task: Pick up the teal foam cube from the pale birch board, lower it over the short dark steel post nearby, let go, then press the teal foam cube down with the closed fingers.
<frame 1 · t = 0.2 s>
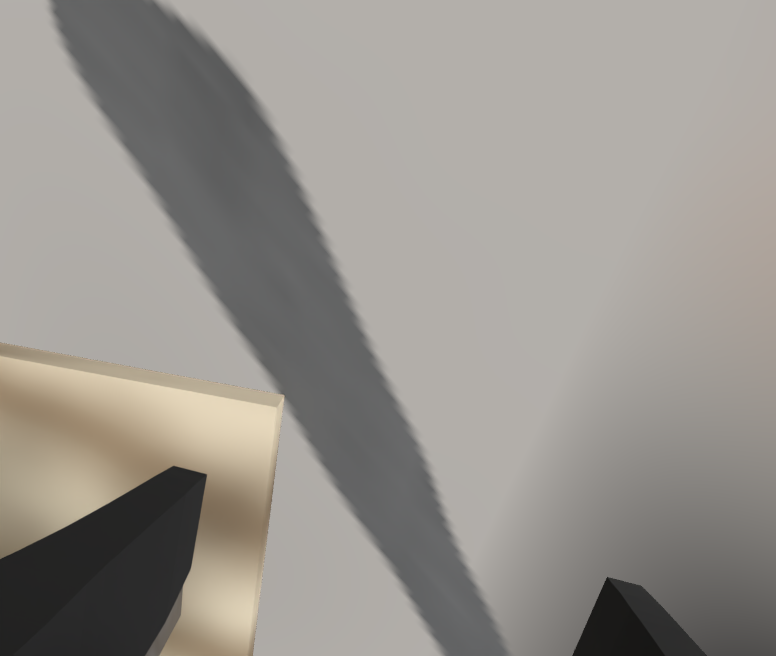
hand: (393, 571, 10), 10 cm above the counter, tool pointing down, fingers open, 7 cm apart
board: (84, 589, 24), on the counter
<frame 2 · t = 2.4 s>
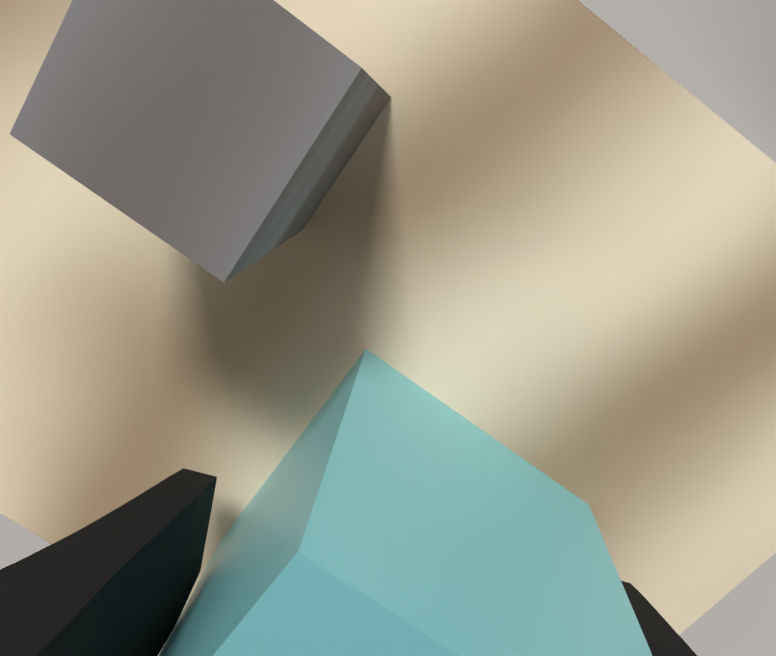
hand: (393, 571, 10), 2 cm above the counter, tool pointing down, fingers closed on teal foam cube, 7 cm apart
teal foam cube: (398, 522, 12), point 1 cm above the counter, touching board, gripper
board: (295, 314, 12), on the counter
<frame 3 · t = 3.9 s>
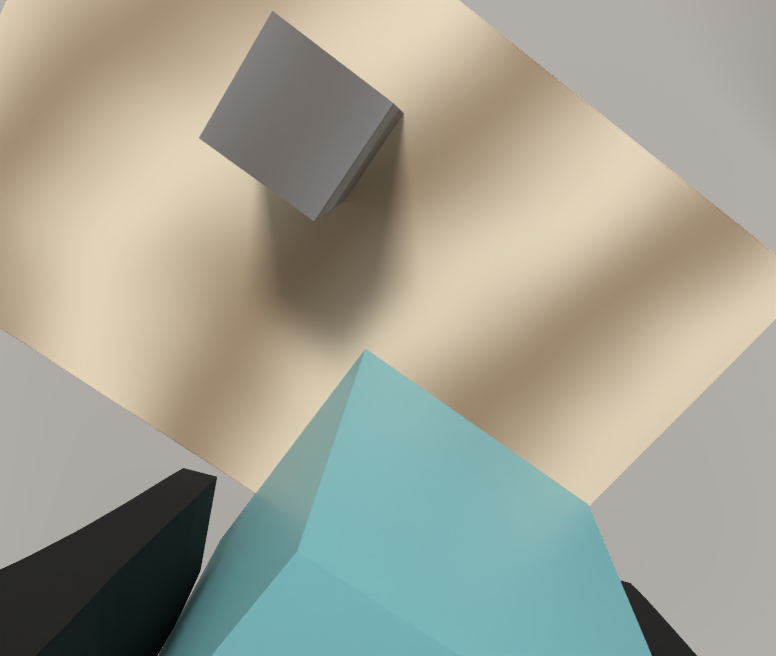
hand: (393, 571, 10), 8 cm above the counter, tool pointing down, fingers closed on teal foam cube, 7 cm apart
teal foam cube: (397, 522, 12), point 6 cm above the counter, touching gripper
board: (335, 263, 17), on the counter
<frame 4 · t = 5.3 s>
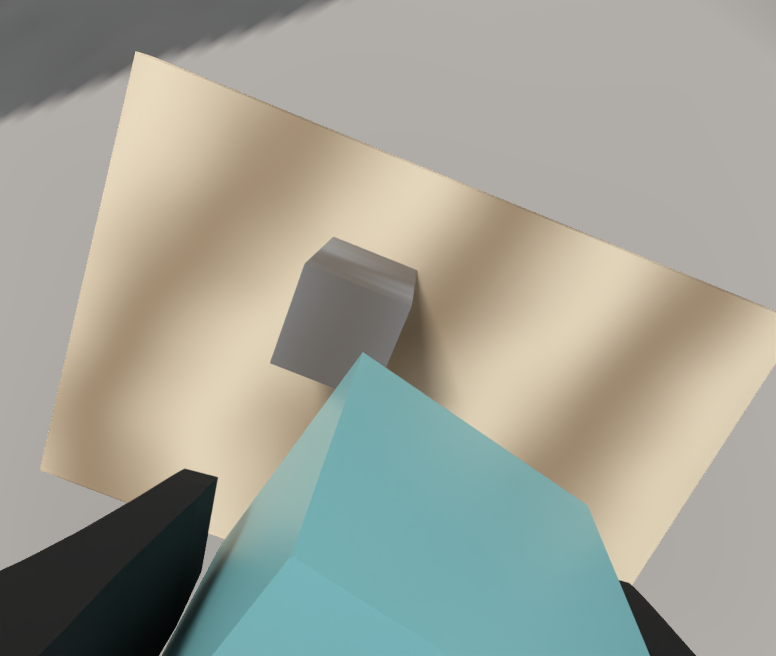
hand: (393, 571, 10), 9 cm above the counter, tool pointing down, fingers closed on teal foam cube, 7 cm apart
teal foam cube: (397, 525, 12), point 8 cm above the counter, touching gripper
board: (388, 390, 20), on the counter
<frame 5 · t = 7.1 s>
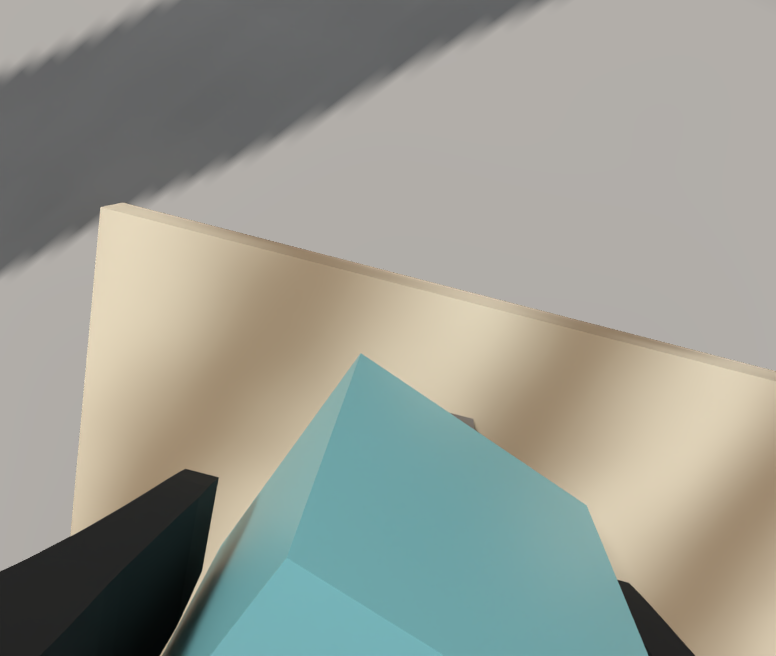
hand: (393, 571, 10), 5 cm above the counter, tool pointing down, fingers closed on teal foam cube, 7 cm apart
teal foam cube: (396, 526, 12), point 4 cm above the counter, touching gripper
board: (451, 546, 16), on the counter
when the fingers open (3 cm above the counter, at t = 8.5 s): teal foam cube stays where it is, resting on board.
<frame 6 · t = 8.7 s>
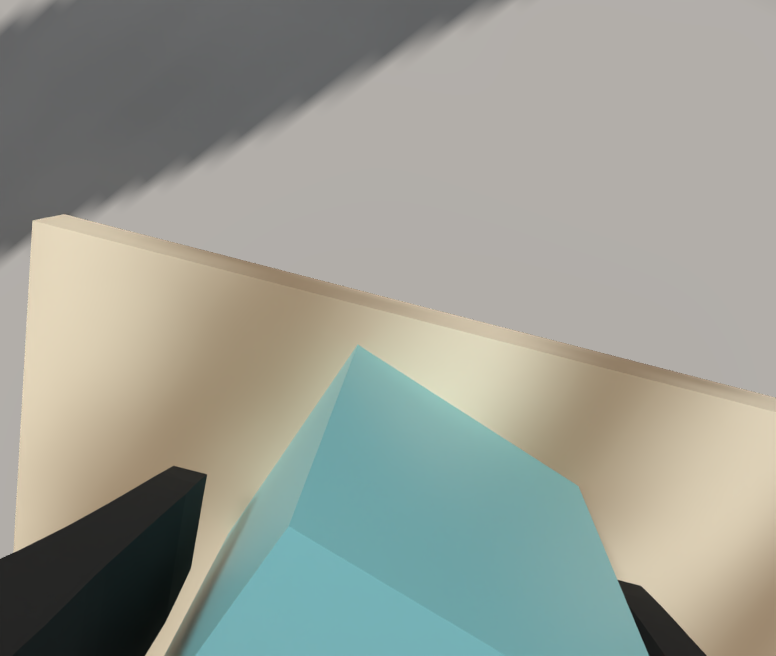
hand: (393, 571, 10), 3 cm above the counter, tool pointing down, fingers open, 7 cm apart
teal foam cube: (396, 510, 12), point 1 cm above the counter, touching board
board: (452, 609, 14), on the counter
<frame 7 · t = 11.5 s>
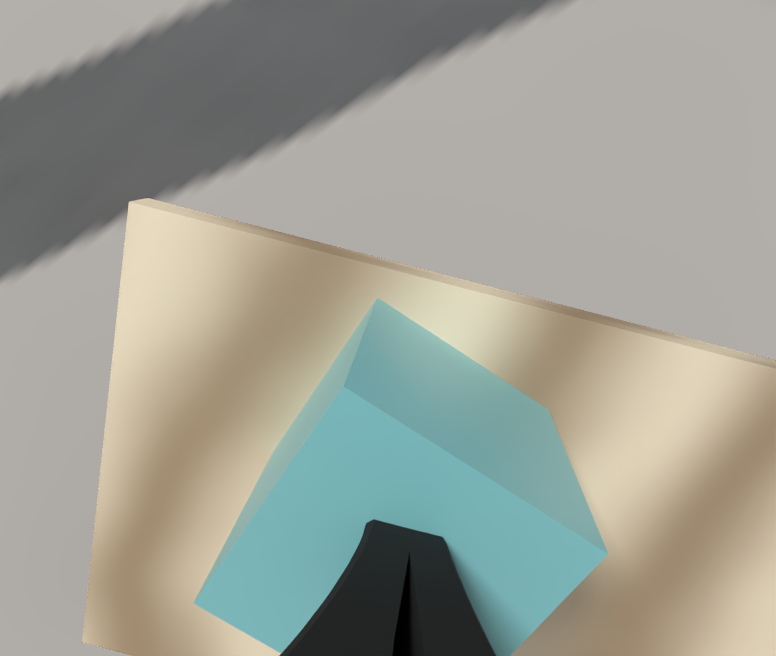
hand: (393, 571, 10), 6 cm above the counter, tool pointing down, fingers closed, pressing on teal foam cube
teal foam cube: (406, 430, 16), point 1 cm above the counter, touching board, gripper
board: (450, 519, 18), on the counter
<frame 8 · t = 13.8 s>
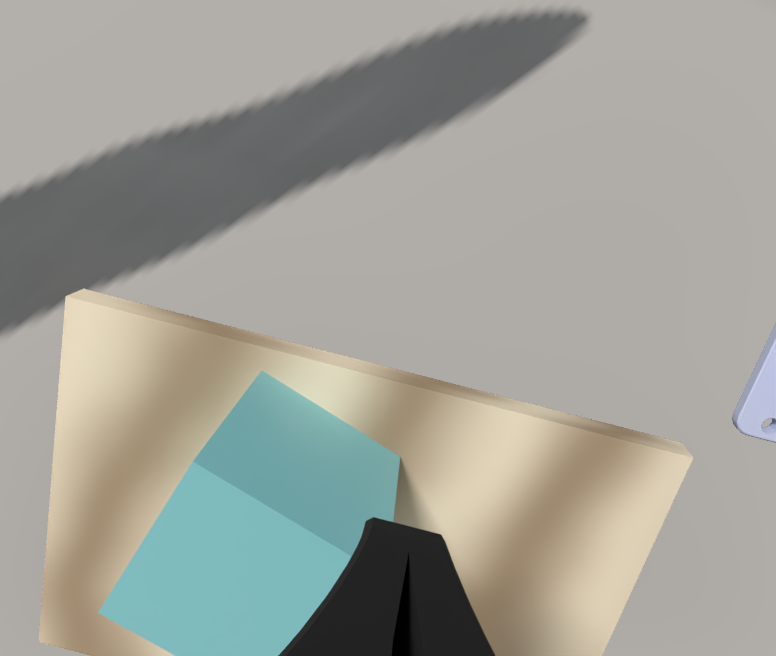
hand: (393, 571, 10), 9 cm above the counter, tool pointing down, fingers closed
teal foam cube: (291, 472, 20), point 1 cm above the counter, touching board
board: (336, 541, 22), on the counter
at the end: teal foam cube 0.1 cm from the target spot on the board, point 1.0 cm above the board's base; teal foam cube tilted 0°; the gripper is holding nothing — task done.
